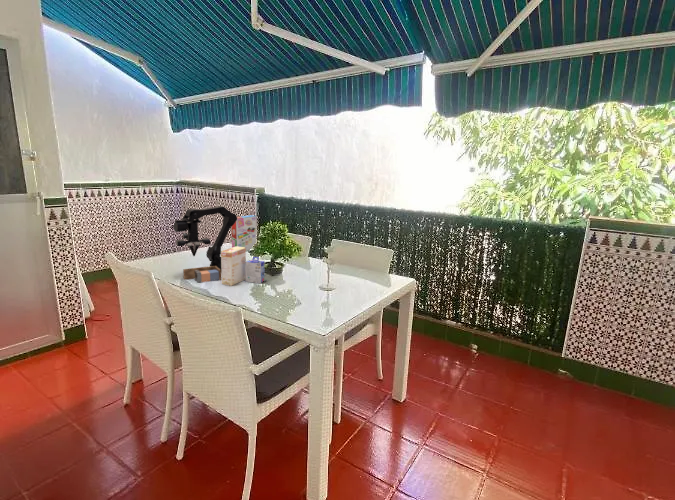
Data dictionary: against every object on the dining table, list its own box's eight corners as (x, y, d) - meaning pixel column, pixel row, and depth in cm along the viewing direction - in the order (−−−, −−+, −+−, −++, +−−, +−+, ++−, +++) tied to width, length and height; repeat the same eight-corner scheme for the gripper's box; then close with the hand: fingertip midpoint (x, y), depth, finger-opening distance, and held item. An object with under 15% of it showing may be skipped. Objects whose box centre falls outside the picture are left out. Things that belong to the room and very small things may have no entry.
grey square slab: (198, 278, 220) (198, 269, 219) (201, 281, 215) (201, 272, 214) (194, 279, 219) (194, 270, 218) (197, 282, 214) (197, 273, 213)
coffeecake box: (236, 277, 228) (235, 246, 223) (246, 279, 225) (246, 247, 221) (221, 284, 214) (220, 250, 210) (231, 286, 212) (231, 252, 207)
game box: (252, 248, 306) (252, 215, 300) (256, 249, 303) (256, 215, 297) (231, 252, 290) (231, 217, 284) (236, 253, 287) (235, 218, 281)
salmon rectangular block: (207, 278, 223) (207, 270, 222) (210, 281, 218) (210, 273, 217) (198, 279, 220) (198, 271, 219) (201, 282, 216) (201, 274, 214)
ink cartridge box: (264, 280, 223) (265, 257, 220) (261, 283, 218) (261, 259, 215) (249, 279, 225) (249, 255, 222) (245, 281, 220) (245, 257, 217)
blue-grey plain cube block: (216, 277, 226) (215, 269, 225) (219, 280, 221) (218, 272, 220) (207, 278, 223) (207, 270, 222) (210, 281, 218) (210, 273, 217)
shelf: (216, 275, 230) (215, 265, 229) (221, 279, 222) (221, 270, 220) (183, 279, 220) (183, 269, 218) (187, 284, 211) (187, 273, 210)
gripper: (205, 227, 234) (206, 251, 237) (173, 229, 223) (174, 254, 227) (210, 230, 225) (211, 255, 228) (177, 232, 214) (178, 258, 218)
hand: (193, 256), depth 225 cm, fingers closed
